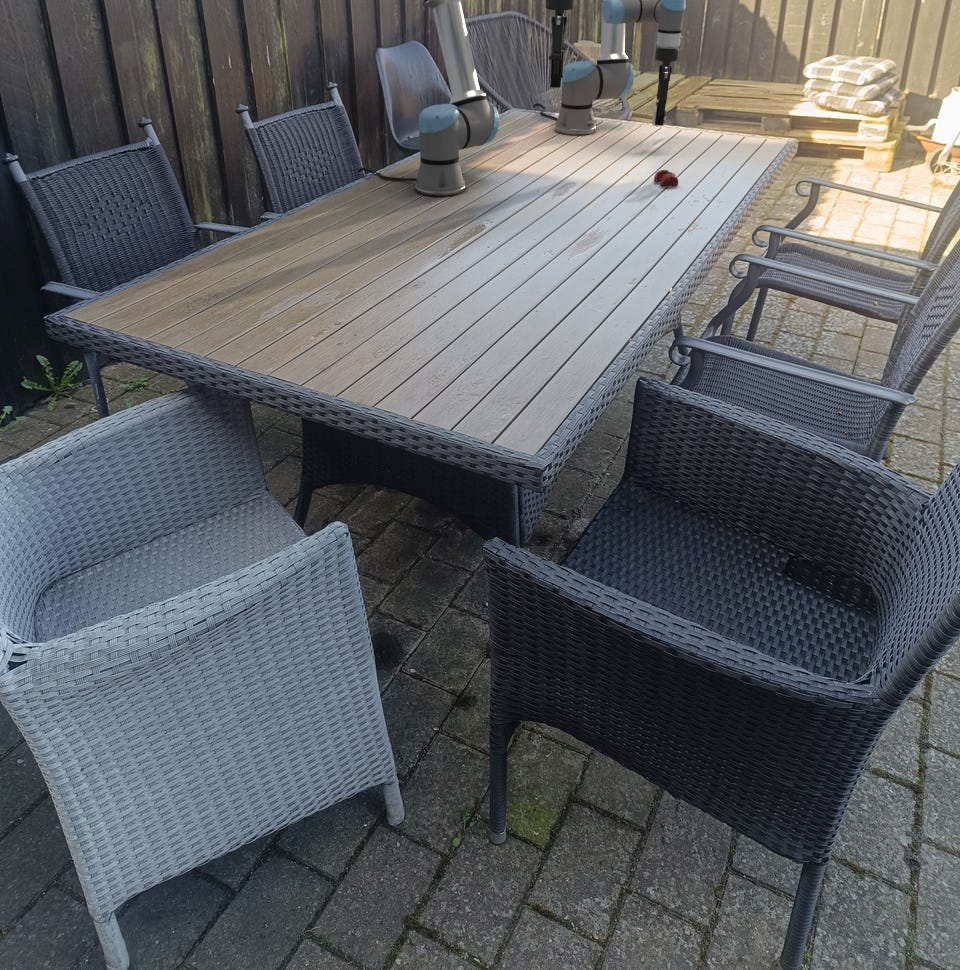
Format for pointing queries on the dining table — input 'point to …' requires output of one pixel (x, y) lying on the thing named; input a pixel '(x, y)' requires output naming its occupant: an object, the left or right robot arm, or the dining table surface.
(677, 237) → the dining table surface
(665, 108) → the pill bottle
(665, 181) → the dark red rounded lump
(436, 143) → the left robot arm
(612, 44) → the right robot arm
